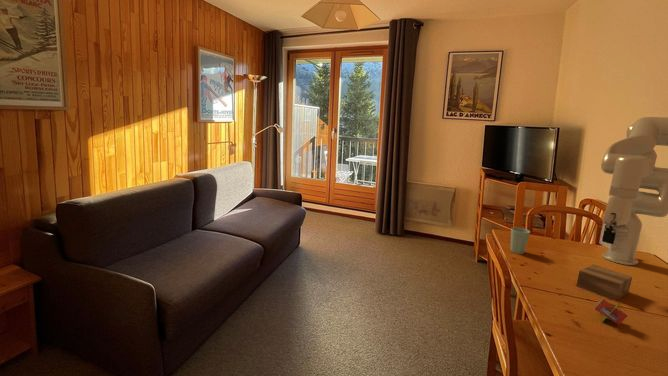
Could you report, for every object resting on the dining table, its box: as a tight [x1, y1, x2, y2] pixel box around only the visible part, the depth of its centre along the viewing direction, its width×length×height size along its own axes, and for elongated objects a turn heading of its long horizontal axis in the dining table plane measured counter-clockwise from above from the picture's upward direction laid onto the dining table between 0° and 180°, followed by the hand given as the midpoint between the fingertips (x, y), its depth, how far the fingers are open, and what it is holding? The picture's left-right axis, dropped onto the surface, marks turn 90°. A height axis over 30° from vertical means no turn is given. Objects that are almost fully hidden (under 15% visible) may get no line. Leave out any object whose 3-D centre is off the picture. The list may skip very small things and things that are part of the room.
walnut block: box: [576, 264, 633, 302], centre depth 126 cm, size 12×12×6 cm
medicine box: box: [598, 222, 629, 252], centre depth 123 cm, size 8×4×9 cm, turn 169°
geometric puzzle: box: [594, 298, 628, 326], centre depth 105 cm, size 7×7×8 cm
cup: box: [510, 227, 531, 255], centre depth 160 cm, size 8×8×10 cm
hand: (612, 240), depth 123 cm, fingers closed on medicine box, 8 cm apart
